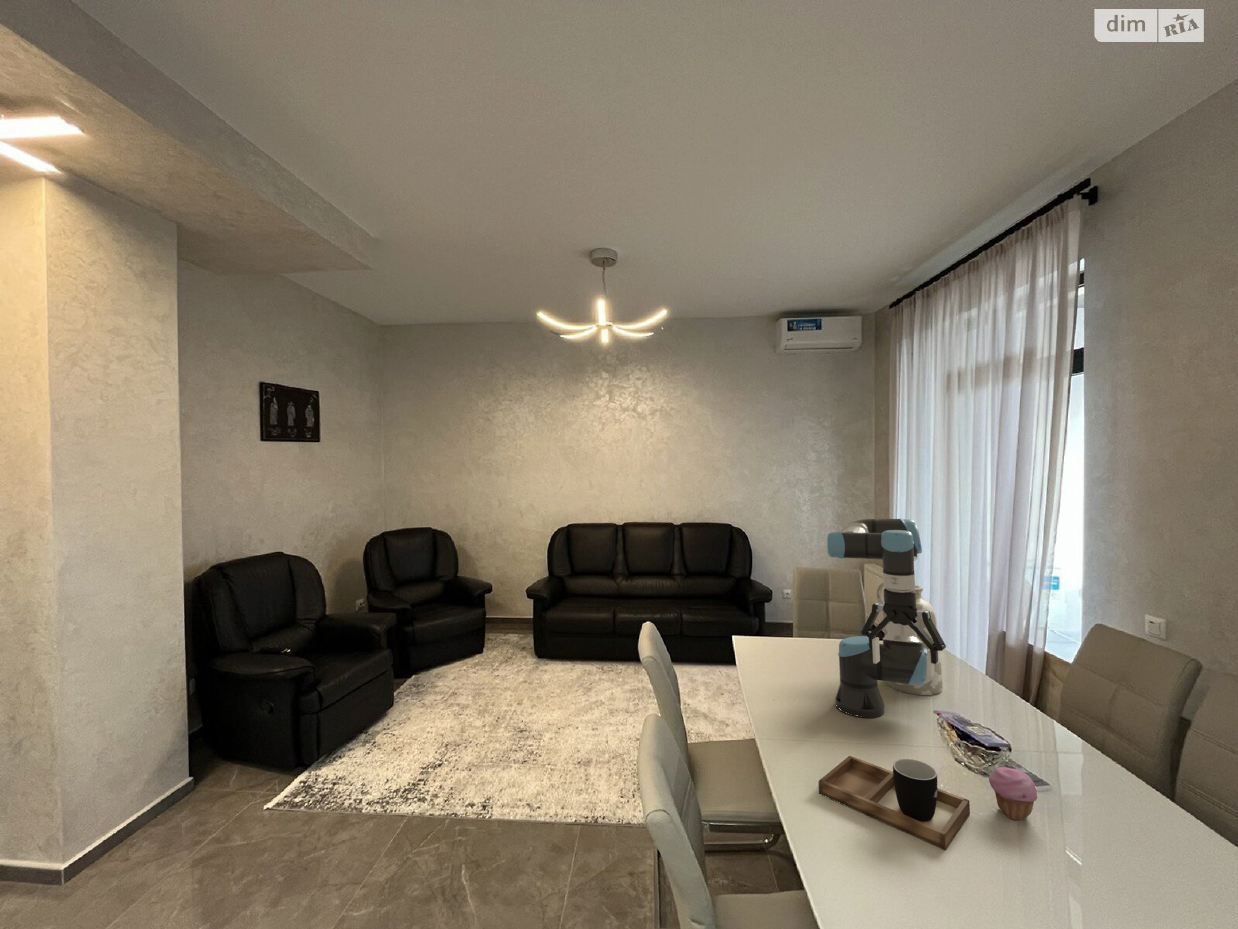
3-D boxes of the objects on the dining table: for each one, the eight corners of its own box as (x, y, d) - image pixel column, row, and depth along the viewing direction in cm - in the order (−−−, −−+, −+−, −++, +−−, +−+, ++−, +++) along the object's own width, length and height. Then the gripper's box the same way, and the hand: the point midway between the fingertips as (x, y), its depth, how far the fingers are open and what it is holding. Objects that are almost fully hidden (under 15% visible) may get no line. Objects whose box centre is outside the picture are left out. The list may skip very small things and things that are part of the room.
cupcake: (982, 803, 126) (980, 760, 126) (1019, 802, 125) (1017, 760, 126) (1008, 827, 117) (1006, 781, 117) (1048, 827, 117) (1046, 781, 117)
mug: (942, 829, 115) (940, 782, 116) (897, 821, 119) (894, 775, 119) (932, 798, 127) (930, 755, 127) (891, 791, 130) (889, 749, 130)
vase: (935, 679, 201) (931, 578, 203) (948, 698, 184) (943, 588, 185) (877, 674, 208) (873, 577, 209) (884, 692, 190) (879, 586, 192)
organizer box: (819, 794, 131) (818, 781, 131) (849, 767, 143) (849, 755, 143) (945, 850, 110) (944, 834, 110) (969, 814, 122) (969, 800, 122)
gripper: (846, 585, 147) (850, 660, 147) (947, 599, 128) (951, 686, 129) (858, 580, 152) (861, 653, 152) (957, 593, 134) (961, 676, 134)
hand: (902, 668), depth 140 cm, fingers open, 13 cm apart
